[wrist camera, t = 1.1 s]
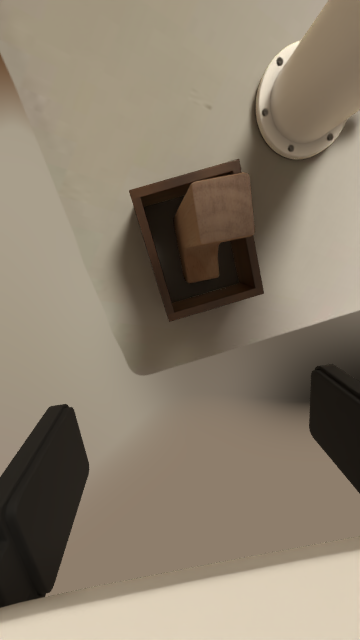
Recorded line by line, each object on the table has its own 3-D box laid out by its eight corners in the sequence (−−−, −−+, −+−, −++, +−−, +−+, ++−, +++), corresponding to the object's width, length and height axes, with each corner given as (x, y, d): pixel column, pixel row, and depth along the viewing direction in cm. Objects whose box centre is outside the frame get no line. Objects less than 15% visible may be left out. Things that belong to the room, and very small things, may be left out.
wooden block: (212, 274, 37) (263, 292, 20) (183, 280, 37) (209, 303, 20) (203, 211, 35) (251, 169, 17) (172, 217, 35) (189, 181, 17)
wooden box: (223, 177, 34) (239, 158, 27) (245, 286, 38) (264, 293, 32) (134, 202, 34) (128, 190, 27) (166, 310, 38) (169, 321, 31)
